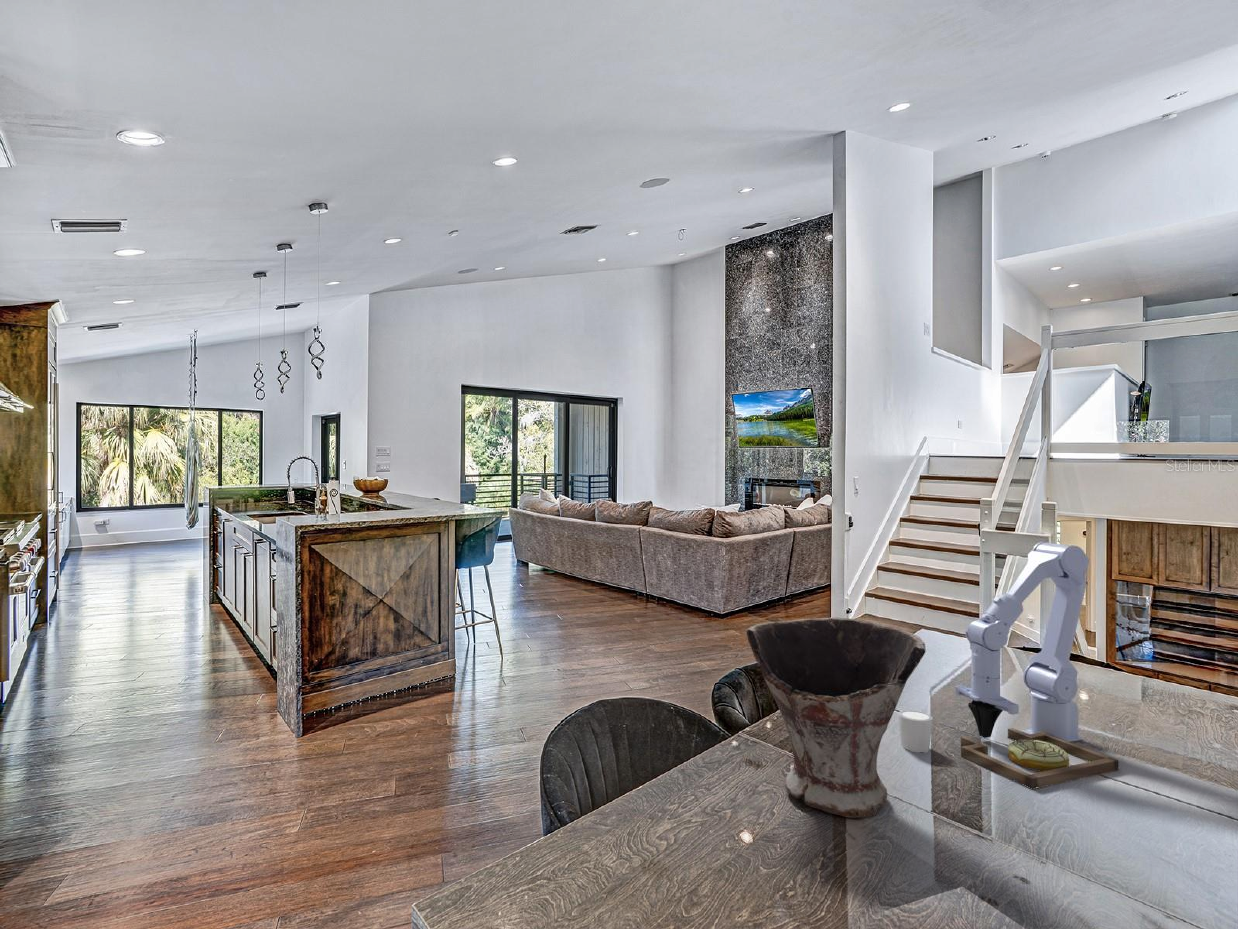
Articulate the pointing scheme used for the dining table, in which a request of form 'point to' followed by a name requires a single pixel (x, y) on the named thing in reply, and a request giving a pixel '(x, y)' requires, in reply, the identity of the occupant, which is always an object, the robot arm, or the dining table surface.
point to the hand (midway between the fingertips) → (985, 736)
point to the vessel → (836, 703)
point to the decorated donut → (1037, 755)
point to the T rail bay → (1095, 767)
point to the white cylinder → (915, 730)
